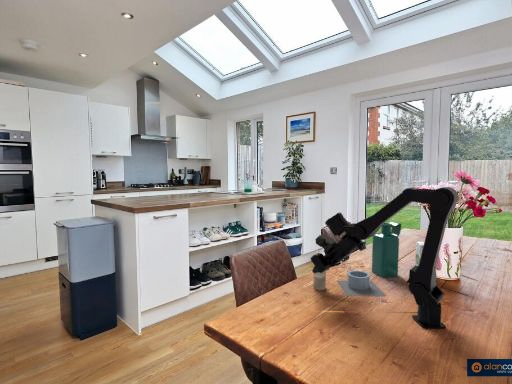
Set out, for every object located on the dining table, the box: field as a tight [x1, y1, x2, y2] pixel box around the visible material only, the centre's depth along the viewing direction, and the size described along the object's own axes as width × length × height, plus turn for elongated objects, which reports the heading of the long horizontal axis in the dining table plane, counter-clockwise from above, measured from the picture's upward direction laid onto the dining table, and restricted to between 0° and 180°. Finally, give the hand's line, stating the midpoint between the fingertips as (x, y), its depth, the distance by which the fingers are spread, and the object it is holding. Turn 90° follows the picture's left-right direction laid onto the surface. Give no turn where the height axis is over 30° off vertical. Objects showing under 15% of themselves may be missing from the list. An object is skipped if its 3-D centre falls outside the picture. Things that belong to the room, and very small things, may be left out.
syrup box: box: [415, 241, 425, 266], centre depth 120 cm, size 6×6×14 cm
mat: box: [336, 280, 387, 297], centre depth 109 cm, size 14×14×1 cm
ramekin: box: [346, 270, 371, 290], centre depth 111 cm, size 8×8×4 cm
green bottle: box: [371, 221, 402, 278], centre depth 124 cm, size 10×8×22 cm
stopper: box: [313, 264, 327, 291], centre depth 109 cm, size 4×4×10 cm
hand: (316, 270), depth 110 cm, fingers closed on stopper, 4 cm apart
